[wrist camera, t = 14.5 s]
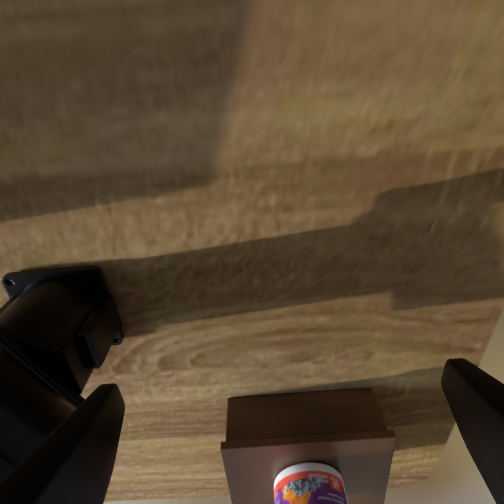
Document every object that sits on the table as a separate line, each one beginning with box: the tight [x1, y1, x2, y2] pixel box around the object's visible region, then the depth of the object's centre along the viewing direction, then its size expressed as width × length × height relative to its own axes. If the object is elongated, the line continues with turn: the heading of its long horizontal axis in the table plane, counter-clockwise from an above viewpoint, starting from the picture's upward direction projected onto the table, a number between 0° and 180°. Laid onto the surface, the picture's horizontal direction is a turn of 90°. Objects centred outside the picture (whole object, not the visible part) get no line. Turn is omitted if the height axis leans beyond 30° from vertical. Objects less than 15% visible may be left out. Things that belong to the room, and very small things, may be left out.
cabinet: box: [220, 388, 396, 504], centre depth 29 cm, size 13×10×5 cm
